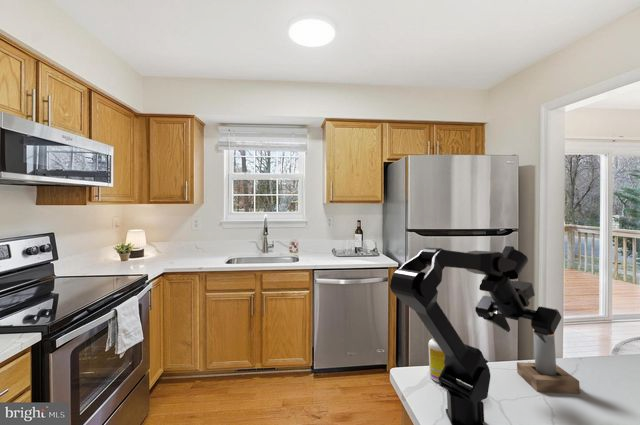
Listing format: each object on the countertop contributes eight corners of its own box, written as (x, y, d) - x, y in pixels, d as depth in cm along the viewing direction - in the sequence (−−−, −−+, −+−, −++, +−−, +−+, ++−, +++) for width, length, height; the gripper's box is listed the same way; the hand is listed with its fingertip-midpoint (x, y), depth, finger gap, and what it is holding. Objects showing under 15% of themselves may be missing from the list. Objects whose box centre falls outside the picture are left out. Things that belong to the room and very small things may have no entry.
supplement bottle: (457, 385, 83) (455, 336, 83) (431, 383, 84) (429, 335, 85) (452, 373, 89) (450, 328, 90) (428, 372, 91) (426, 327, 91)
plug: (542, 386, 81) (539, 332, 82) (532, 377, 86) (529, 326, 86) (561, 387, 80) (558, 332, 81) (550, 378, 85) (547, 327, 86)
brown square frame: (536, 391, 79) (536, 379, 79) (517, 372, 89) (516, 362, 89) (579, 393, 77) (579, 381, 78) (555, 374, 87) (554, 363, 88)
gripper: (557, 274, 72) (580, 322, 76) (483, 266, 89) (504, 306, 92) (539, 309, 68) (564, 357, 72) (463, 294, 84) (487, 334, 88)
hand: (526, 335), depth 81 cm, fingers open, 9 cm apart
